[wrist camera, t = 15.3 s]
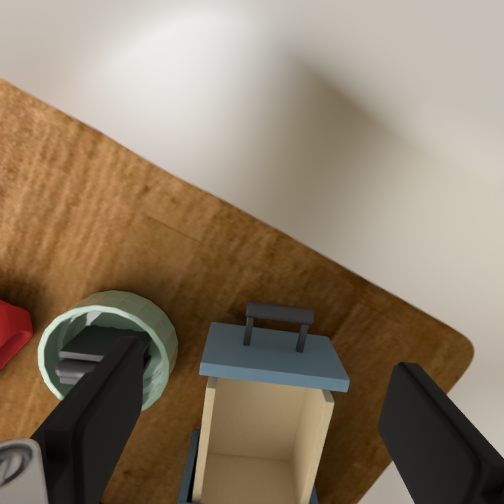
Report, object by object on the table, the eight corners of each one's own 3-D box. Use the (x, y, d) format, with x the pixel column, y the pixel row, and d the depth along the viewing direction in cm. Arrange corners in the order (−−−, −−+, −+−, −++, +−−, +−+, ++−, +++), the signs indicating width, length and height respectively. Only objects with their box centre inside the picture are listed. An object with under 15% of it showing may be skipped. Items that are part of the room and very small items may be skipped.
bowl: (66, 381, 32) (39, 411, 28) (65, 281, 29) (35, 297, 25) (174, 394, 33) (164, 424, 29) (184, 296, 30) (173, 315, 26)
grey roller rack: (86, 351, 30) (51, 389, 25) (86, 323, 30) (50, 355, 24) (153, 360, 31) (133, 398, 25) (155, 332, 30) (135, 365, 25)
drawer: (216, 282, 28) (206, 313, 22) (336, 299, 29) (362, 334, 22) (195, 447, 33) (182, 513, 27) (299, 458, 34) (311, 525, 27)
